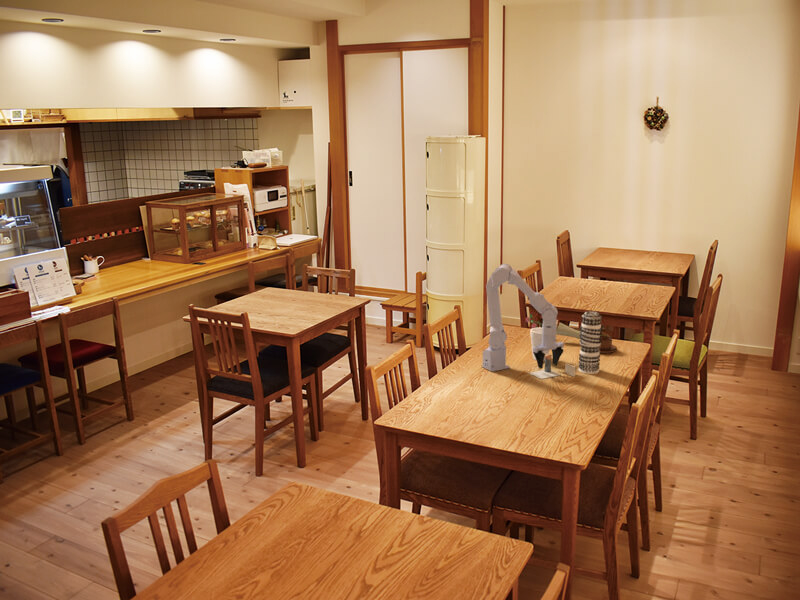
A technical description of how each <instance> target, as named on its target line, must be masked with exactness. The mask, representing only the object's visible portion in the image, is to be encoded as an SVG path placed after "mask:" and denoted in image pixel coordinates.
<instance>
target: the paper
mask: <svg viewBox="0 0 800 600" xmlns="http://www.w3.org/2000/svg"><path fill="white" fill-rule="evenodd" d="M528 373H529V375H531V376H533V377H536V378H537V379H540V380H545V379H550V378H556V377H559V376H561V373H558V372H556V371H553V370H552V369H551V372H545V369H541V370H537V371H531V372H528Z"/></svg>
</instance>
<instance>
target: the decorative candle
mask: <svg viewBox="0 0 800 600" xmlns="http://www.w3.org/2000/svg"><path fill="white" fill-rule="evenodd" d="M581 317H582V319H581V324H580V326H579V331H580V338H581V339H579V345H580V348H579V353H578V356H579V357H578V360H579V361H578V371H579V372H580V373H582V374H585V375H588V374H589V375H595V374H598V373H599V372H600V365H601V363H600V361H601V359H600V358H601V355H600V353H599V346H600V345H601V341H600V339H602V338H601V337H600V336H603V333H602V331H603V329H602V318H603V317H602V315H601V314H600V313H599V312H598V311H591V310H589V311H585V312H584V314H582V315H581ZM581 336H582V337H581Z"/></svg>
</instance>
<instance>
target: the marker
mask: <svg viewBox="0 0 800 600" xmlns="http://www.w3.org/2000/svg"><path fill="white" fill-rule="evenodd" d="M552 360H553V356H552V354H550V353H549V354H546V355H545V361H544V370H545V372H551V370H552Z"/></svg>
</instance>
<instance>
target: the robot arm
mask: <svg viewBox="0 0 800 600" xmlns="http://www.w3.org/2000/svg"><path fill="white" fill-rule="evenodd" d="M506 282H507V284H508V285H514V286H515V287H516V288H518V290H520V291H521V292H522V293H524V294H523V295H525V296H526V297H527V298H528V303H529V304H530V305H531V306H532V307H533V308H534V309H535V310H536V311H537V312H538V313H539V314H541V318H542V323H541V324H542V325H541V327H542V344H541V345H538V346H536V347H533V353H534V355H535V357H536V360H537V361H536V360H535V361H536V362H537V366H538V368H539V369H541V370H543V368H544V362H545V361H544V357H545V354H544V353H543V352H542V351H545V350H549V351H551V353H552V354H551V355H552V359H551V363H552V365H554V366H558V363H559V361H560V359H561V356H562V354H563V353H564V348H565V347H564V345H565V343H564V342H562V341H559V342H557V335H556V333H557V328H558V326H557V316H558V312H559V311H558V309H557V307H556V305H553V303H551V302H549V301H548V300H547V299H546V297H545V295H544V294H543V293H540V292H537V291H536V292H535V291H534V290H533V288H531V286H530V285H529V284H528V283H527V282H526V281H525V279H523V278H522V276H521V275H520V274H519V273H518V272H517V271H516V270H515V269H514V268H512V266H511V265H509V264H507V263H502V264H500V265H499V266H498V267H496V268H495V270H493V272H492V273H491V275H490V277H489V279H488V280H487V282H486V284H485V289H486V298H487V307H488V315H489V316H488V317H489V324H490V327H489V338H488V342H487V343H488V347H487V348H485V349H484V350H483V352H482V365H481V368H482V367H483V368H484V369H486V370H488V371H490V372H497V371H502V370H507V369H510V368H511V367H510V366H509V365H507V364H506V362H507V361H506V360H507V345H506V343H505V342H506V341H507V339H508V336H507V333H506V331H505V328H504V325H503V322H502V320H503V319H502V310H501V302H500V301H501V300H500V294H499V288H500V286H501V285H503V284H504V283H506Z"/></svg>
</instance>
